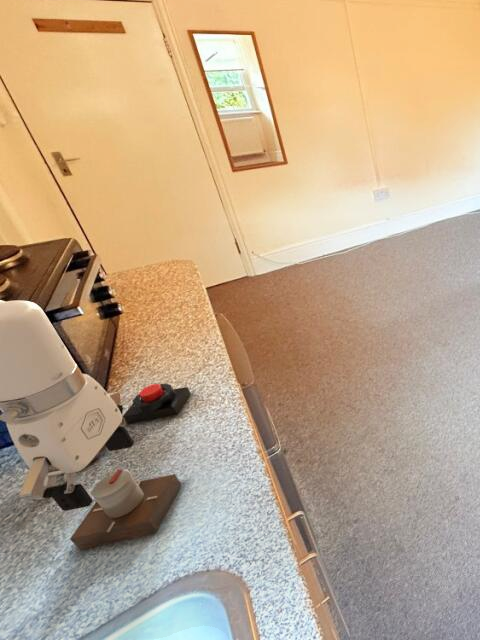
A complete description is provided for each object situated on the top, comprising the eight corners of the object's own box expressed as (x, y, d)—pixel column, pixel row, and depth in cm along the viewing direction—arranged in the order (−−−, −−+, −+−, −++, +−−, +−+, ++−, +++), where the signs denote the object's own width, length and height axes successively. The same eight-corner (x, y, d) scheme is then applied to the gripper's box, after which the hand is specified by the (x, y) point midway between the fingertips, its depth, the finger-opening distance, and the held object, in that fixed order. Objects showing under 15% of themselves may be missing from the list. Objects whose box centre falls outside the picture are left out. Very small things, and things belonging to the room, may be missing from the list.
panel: (78, 552, 59) (67, 540, 58) (114, 497, 66) (106, 485, 65) (155, 534, 61) (146, 522, 60) (182, 483, 69) (175, 471, 67)
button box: (126, 424, 80) (117, 410, 78) (144, 401, 86) (136, 388, 84) (177, 415, 82) (169, 401, 80) (191, 393, 88) (184, 380, 86)
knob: (133, 514, 61) (117, 492, 59) (100, 521, 60) (82, 499, 58) (150, 487, 65) (136, 466, 62) (119, 493, 64) (103, 472, 62)
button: (139, 403, 81) (135, 397, 80) (148, 391, 84) (145, 385, 83) (158, 400, 81) (154, 394, 80) (167, 388, 84) (163, 382, 83)
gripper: (23, 438, 45) (92, 527, 53) (118, 344, 60) (161, 424, 68) (-61, 452, 44) (23, 542, 51) (58, 352, 59) (109, 433, 66)
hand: (102, 474), depth 59 cm, fingers open, 9 cm apart
